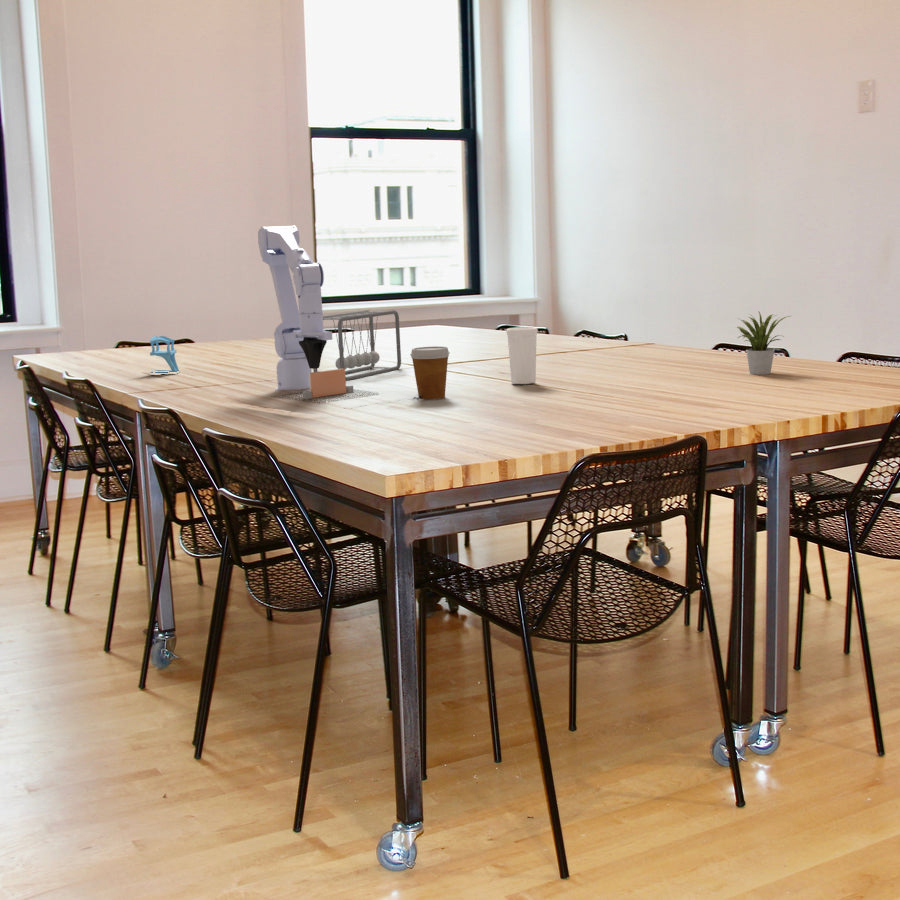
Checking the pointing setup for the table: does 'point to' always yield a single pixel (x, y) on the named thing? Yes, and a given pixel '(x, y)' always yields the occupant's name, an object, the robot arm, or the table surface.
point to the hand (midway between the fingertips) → (314, 368)
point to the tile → (327, 382)
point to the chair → (165, 352)
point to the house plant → (759, 345)
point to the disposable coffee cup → (430, 371)
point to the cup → (522, 354)
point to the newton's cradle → (365, 357)
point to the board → (306, 394)
